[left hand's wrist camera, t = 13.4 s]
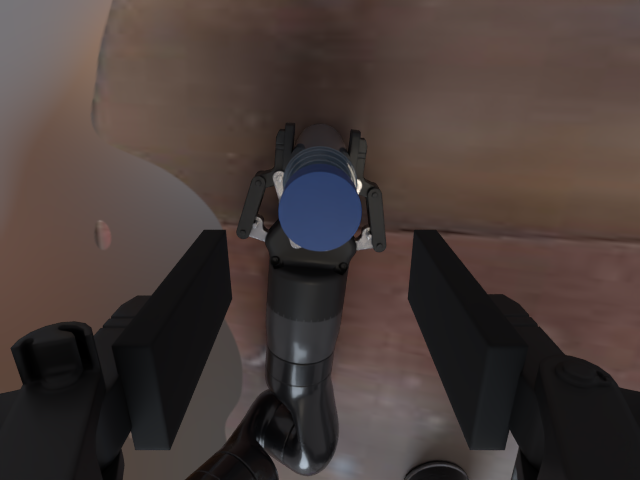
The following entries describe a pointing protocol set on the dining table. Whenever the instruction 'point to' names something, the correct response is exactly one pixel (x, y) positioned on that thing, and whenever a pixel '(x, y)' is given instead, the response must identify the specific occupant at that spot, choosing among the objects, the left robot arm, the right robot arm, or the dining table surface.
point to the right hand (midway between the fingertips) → (322, 128)
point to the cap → (320, 207)
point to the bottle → (320, 151)
